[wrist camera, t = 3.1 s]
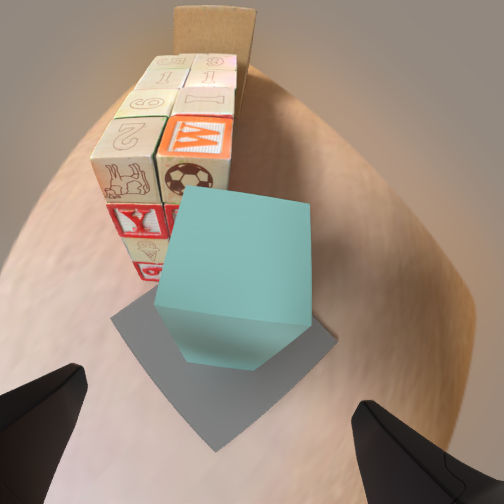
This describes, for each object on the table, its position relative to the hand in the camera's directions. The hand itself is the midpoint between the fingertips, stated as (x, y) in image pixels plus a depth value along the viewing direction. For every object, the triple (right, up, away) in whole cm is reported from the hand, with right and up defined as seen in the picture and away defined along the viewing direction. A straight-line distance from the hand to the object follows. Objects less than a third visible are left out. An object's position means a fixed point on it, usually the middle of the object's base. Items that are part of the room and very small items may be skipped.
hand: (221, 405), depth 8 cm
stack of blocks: (-5, +11, +19) cm, 22 cm away
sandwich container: (-5, +28, +29) cm, 41 cm away
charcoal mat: (-1, -1, +12) cm, 12 cm away
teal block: (-1, -1, +12) cm, 12 cm away
